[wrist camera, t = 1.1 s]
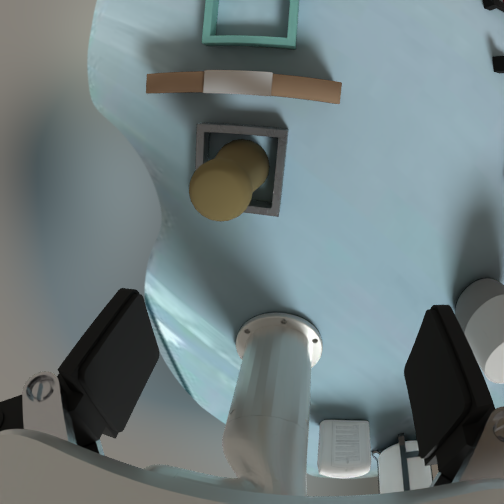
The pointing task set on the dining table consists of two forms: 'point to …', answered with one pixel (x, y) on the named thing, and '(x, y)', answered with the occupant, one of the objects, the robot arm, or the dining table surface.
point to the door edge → (245, 84)
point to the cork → (229, 180)
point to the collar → (236, 40)
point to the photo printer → (344, 448)
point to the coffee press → (402, 468)
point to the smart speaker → (484, 325)
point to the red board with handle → (500, 62)
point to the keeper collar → (280, 133)
